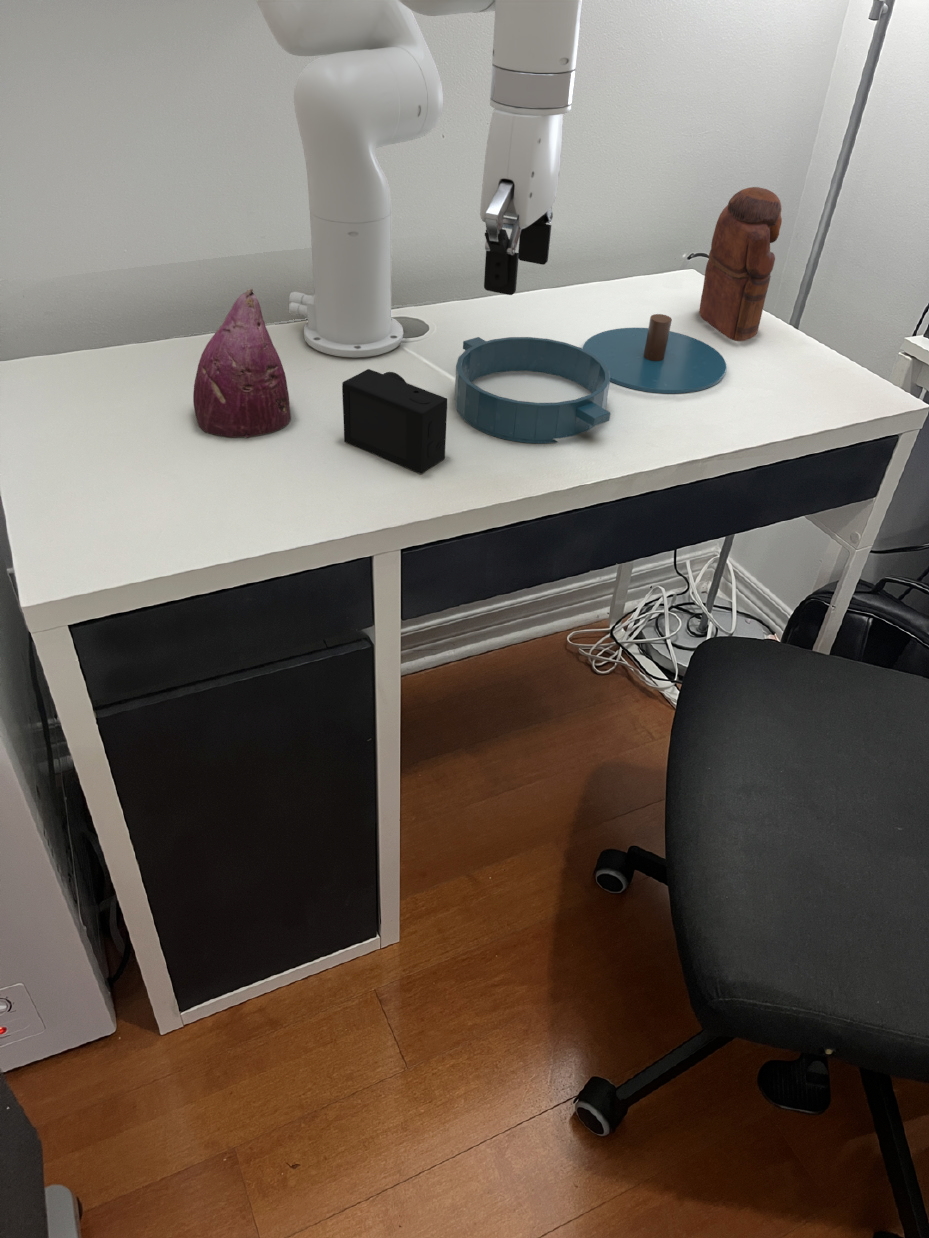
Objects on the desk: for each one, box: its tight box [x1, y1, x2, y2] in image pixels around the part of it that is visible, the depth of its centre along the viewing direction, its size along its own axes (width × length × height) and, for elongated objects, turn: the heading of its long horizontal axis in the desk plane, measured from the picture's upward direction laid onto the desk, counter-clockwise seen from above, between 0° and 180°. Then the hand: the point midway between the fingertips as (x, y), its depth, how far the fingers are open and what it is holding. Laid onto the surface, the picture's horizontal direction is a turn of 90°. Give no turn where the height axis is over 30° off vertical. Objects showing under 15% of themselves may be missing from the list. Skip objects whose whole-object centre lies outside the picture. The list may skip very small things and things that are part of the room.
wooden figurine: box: [698, 186, 783, 342], centre depth 124 cm, size 12×6×18 cm, turn 19°
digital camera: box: [341, 368, 448, 475], centre depth 98 cm, size 10×5×7 cm, turn 55°
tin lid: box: [581, 313, 727, 394], centre depth 117 cm, size 18×18×6 cm
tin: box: [453, 336, 611, 444], centre depth 107 cm, size 17×23×5 cm
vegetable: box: [192, 287, 292, 439], centre depth 101 cm, size 10×10×15 cm
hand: (516, 276), depth 97 cm, fingers open, 9 cm apart
